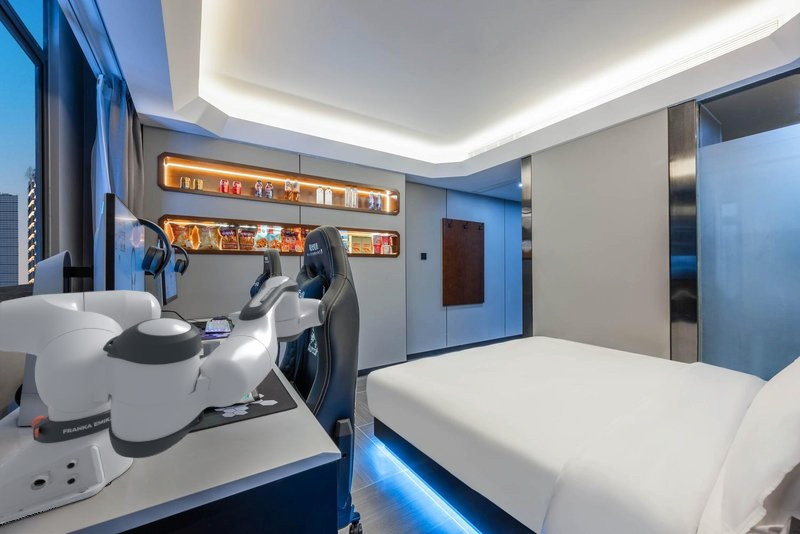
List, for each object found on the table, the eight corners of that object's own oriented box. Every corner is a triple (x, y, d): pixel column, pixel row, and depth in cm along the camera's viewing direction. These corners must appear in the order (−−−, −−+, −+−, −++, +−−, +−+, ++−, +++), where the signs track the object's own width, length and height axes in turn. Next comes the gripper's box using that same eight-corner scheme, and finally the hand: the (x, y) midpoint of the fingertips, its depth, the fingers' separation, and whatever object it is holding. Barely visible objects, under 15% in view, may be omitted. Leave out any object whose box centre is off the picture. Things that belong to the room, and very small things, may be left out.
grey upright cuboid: (221, 390, 109) (220, 341, 109) (211, 395, 105) (210, 344, 105) (209, 388, 110) (208, 340, 110) (199, 393, 106) (198, 343, 106)
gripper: (256, 330, 90) (216, 330, 94) (296, 315, 110) (262, 315, 113) (254, 308, 90) (215, 309, 93) (295, 297, 110) (261, 298, 113)
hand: (241, 312), depth 104 cm, fingers open, 8 cm apart
